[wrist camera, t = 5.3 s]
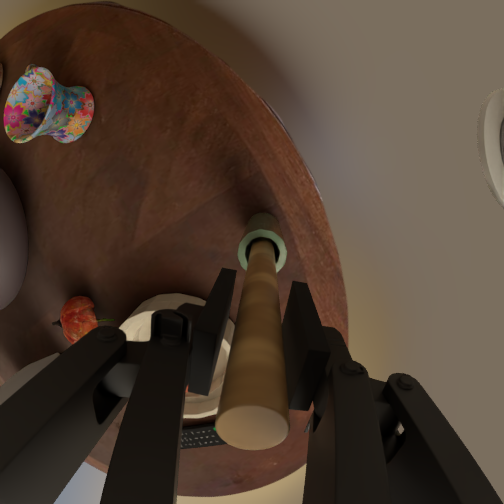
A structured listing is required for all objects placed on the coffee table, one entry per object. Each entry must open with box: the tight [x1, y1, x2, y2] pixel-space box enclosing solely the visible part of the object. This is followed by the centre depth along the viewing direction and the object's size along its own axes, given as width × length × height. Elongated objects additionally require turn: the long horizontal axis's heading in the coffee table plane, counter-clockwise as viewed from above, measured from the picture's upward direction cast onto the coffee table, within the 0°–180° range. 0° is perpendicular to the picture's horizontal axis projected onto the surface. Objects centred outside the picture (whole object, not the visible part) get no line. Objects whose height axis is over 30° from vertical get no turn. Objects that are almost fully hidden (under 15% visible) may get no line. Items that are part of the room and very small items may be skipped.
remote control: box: [180, 423, 228, 449], centre depth 46 cm, size 5×24×1 cm, turn 111°
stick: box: [215, 237, 290, 450], centre depth 21 cm, size 2×2×30 cm
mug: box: [4, 64, 94, 143], centre depth 28 cm, size 12×9×11 cm
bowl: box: [119, 293, 235, 418], centre depth 38 cm, size 18×18×6 cm
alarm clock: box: [0, 353, 60, 405], centre depth 36 cm, size 21×8×20 cm, turn 116°
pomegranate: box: [52, 296, 115, 344], centre depth 37 cm, size 7×7×10 cm
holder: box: [238, 213, 287, 273], centre depth 31 cm, size 4×4×12 cm
